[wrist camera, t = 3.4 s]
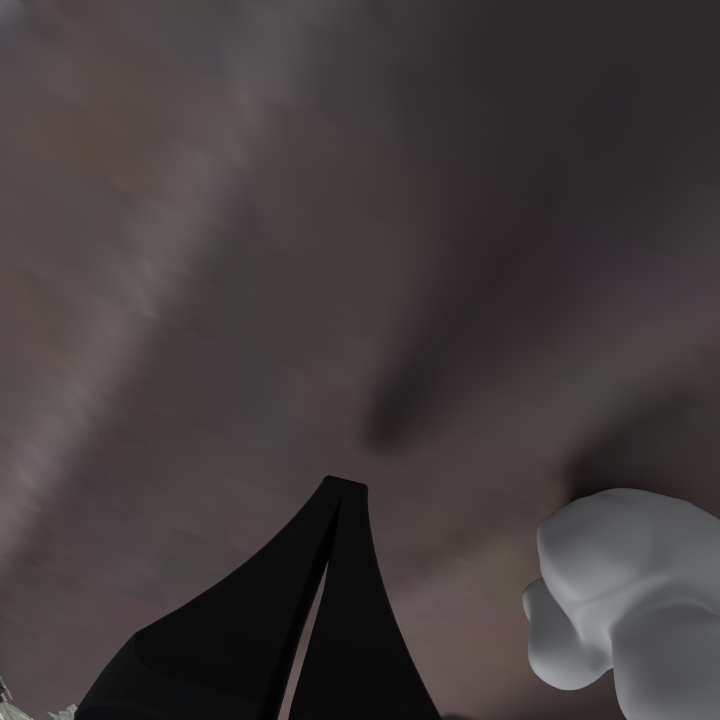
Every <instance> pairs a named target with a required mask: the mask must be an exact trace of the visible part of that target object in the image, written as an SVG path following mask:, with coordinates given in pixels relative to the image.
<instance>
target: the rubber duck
mask: <svg viewBox="0 0 720 720" xmlns="http://www.w3.org/2000/svg"><path fill="white" fill-rule="evenodd" d="M537 547H538V553H539V558H540V569H541V573H542V576H543V578H540V579H537V580H535V581H534V582H532V583H531V584H529V585H528V586H527V587H526V589H525V590H524V592H523V597H522V599H523V606H524V610H525V613H526V615H527V617H528V619H529V621H530V630H529V641H528V658H529V662H530V665H531V667H532V669H533V671H534V672H535V673H536V674H537V675H538V676H539V677H540V678H541V679H542V680H543V681H545V682H546V683H548V684H549V685H552V686H554V687H556V688H559V689H563V690H575V689H580V688H583V687H586V686H587V685H589V684H591V683H593V682H594V681H596V680H597V679H598V678H600V677H601V676H602V675H603V674H604V673H605V672H606V671H607V670H609V669H611V668H613V671H614V682H615V687H616V694H617V698H618V702H619V705H620V707H621V710H622V712H623V714H624V716H625V717H626V719H627V720H720V520H719V519H718V518H716V517H715V516H713V515H711V514H710V513H708V512H706V511H704V510H702V509H700V508H698V507H696V506H694V505H693V504H691V503H689V502H687V501H684V500H681V499H677V498H673V497H669V496H665V495H661V494H657V493H653V492H648V491H644V490H638V489H631V488H614V489H609V490H604V491H601V492H598V493H596V494H593V495H591V496H586V497H583V498H580V499H577V500H575V501H573V502H571V503H570V504H568V505H566V506H564V507H563V508H561V509H559V510H558V511H556V512H554V513H553V514H551V515H549V516H548V517H546V518H545V519H544V520H542V522H541V523H540V524H539V526H538V529H537Z"/></svg>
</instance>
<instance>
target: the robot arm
mask: <svg viewBox="0 0 720 720" xmlns="http://www.w3.org/2000/svg"><path fill="white" fill-rule="evenodd" d="M328 560H329V561H328ZM327 562H328V567H327V573H326V579H325V585H324V591H323V595H322V598H321V602H320V605H319V609H318V613H317V616H316V620H315V623H314V627H313V631H312V634H311V638H310V641H309V645H308V648H307V652H306V655H305V659H304V662H303V666H302V669H301V673H300V676H299V680H298V683H297V687H296V690H295V694H294V697H293V700H292V704H291V708H290V713H289V718H288V720H442V718H441V716H440V714H439V713H438V711H437V709H436V707H435V705H434V703H433V701H432V699H431V697H430V695H429V694H428V692H427V690H426V688H425V686H424V684H423V682H422V680H421V677H420V675H419V673H418V671H417V669H416V667H415V665H414V663H413V660H412V658H411V656H410V654H409V651H408V649H407V647H406V644H405V642H404V639H403V637H402V634H401V632H400V630H399V627H398V625H397V622H396V620H395V617H394V614H393V612H392V609H391V606H390V603H389V600H388V597H387V594H386V591H385V588H384V585H383V581H382V578H381V574H380V570H379V567H378V563H377V558H376V554H375V550H374V545H373V540H372V534H371V529H370V522H369V513H368V487H367V486H366V484H362V483H358V482H354V481H350V480H346V479H342V478H338V477H334V476H330V475H328V476H326V477H325V478H324V479H323V481H322V483H321V484H320V486H319V487H318V489H317V490H316V491H315V493H314V494H313V495H312V496H311V498H310V499H309V500H308V501H307V503H306V504H305V505H304V506H303V507H302V508H301V510H300V511H299V512H298V513H297V514H296V515H295V516H294V517H293V519H292V520H291V521H290V522H289V523H288V524H287V525H286V526H285V527H284V528H283V529H282V530H281V531H280V532H279V533H278V534H277V535H276V536H275V537H274V538H273V539H272V540H270V541H269V542H268V543H267V544H266V545H265V546H264V547H263V548H262V549H261V550H259V551H258V552H257V553H256V554H255V555H253V556H252V557H251V558H250V559H249V560H247V561H246V562H245V563H244V564H242V565H241V566H240V567H239V568H237V569H236V570H235V571H233V572H232V573H231V574H229V575H228V576H227V577H225V578H224V579H223V580H221V581H220V582H218V583H217V584H216V585H214V586H213V587H211V588H210V589H208V590H206V591H205V592H203V593H202V594H200V595H199V596H197V597H196V598H194V599H193V600H191V601H190V602H188V603H187V604H185V605H183V606H182V607H180V608H178V609H177V610H175V611H173V612H172V613H170V614H168V615H166V616H164V617H163V618H161V619H159V620H157V621H156V622H154V623H152V624H150V625H148V626H147V627H145V628H143V629H141V630H139V631H138V632H136V633H135V634H134V635H133V636H132V637H131V638H130V639H129V640H128V641H127V642H126V644H125V645H124V646H123V647H122V648H121V649H120V650H119V652H118V653H117V654H116V655H115V656H114V658H113V659H112V660H111V661H110V662H109V663H108V665H107V666H106V667H105V669H104V670H103V671H102V673H101V674H100V675H99V677H98V678H97V680H96V681H95V683H94V684H93V686H92V687H91V689H90V690H89V692H88V693H87V694H86V696H85V697H84V699H83V700H82V702H81V703H80V705H79V706H78V708H77V709H76V711H75V713H74V720H278V716H279V712H280V709H281V705H282V702H283V698H284V694H285V691H286V687H287V683H288V680H289V676H290V672H291V669H292V665H293V662H294V658H295V654H296V651H297V647H298V644H299V641H300V638H301V635H302V632H303V629H304V626H305V623H306V620H307V618H308V615H309V612H310V609H311V607H312V604H313V601H314V598H315V596H316V593H317V590H318V587H319V585H320V582H321V579H322V576H323V574H324V571H325V568H326V565H327Z"/></svg>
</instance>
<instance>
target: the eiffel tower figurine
mask: <svg viewBox="0 0 720 720" xmlns="http://www.w3.org/2000/svg"><path fill="white" fill-rule="evenodd" d="M9 700H13V698H12V696H11V694H10V692H9V690H8V689H7V687H6V685H5V683H4V681H3V679H2V677H1V675H0V720H33V719H32V718H30V717H29V716H27V715H26V714H24V713H23V712H22V711H20V710H19V709H17V708H16V707H14V706H12V705H10V704H8V703H6V702H4V701H9ZM77 708H78V707H77V706H76V705H75V704H73V705H71V706H70V707H68V708H67V710H66V711H59V713H60V716H58V715H55V714H53V713H50V712H47V713H49V714H50V715H51V716H52V717H53V718H54V719H55V720H74V713H75V711H76V709H77Z"/></svg>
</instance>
